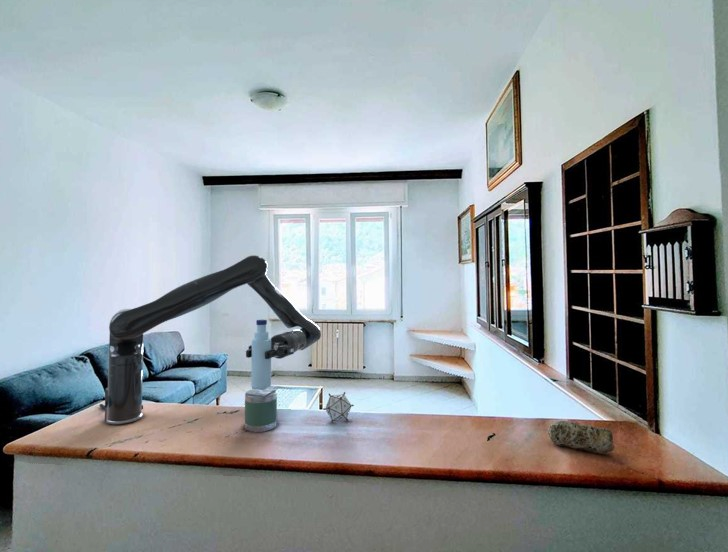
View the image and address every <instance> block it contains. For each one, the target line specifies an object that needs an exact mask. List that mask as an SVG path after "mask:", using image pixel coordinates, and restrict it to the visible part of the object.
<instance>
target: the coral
mask: <svg viewBox="0 0 728 552" xmlns="http://www.w3.org/2000/svg"><path fill="white" fill-rule="evenodd" d="M547 433H548V436H549V439H550V441H551V443H552V444H553V445H555V446H560V447H561V446H562V447H568V448H573V449H575V450H581V451H586V452H591V453H594V454H599V455H608V454H609V453H611V452H613V451H614V450H615V445H614V441H613V440H614V435H613V431H612V430H610V429H609V428H606V427H600V426H595V425H590V424H582V423H577V422H572V421H566V420H562V419H561V420H557V421H554V422H552V423H551V424H550V425H549V427H548V429H547Z"/></svg>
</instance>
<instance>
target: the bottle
mask: <svg viewBox="0 0 728 552" xmlns="http://www.w3.org/2000/svg"><path fill="white" fill-rule="evenodd" d="M267 324H268V320H267V319H256V324H255V325H256V331H255V332H254V338H252V339H251V345H252V357H251V373H250V374H251V377H250V379H251V383H250V384H251V385H250V386H251V390H252V389H259V390H264V389H266V388H271V385H272V358H270V359H265V352H266V351H268V350H271V338H270V337H269V331H267Z"/></svg>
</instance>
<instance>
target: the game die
mask: <svg viewBox="0 0 728 552" xmlns="http://www.w3.org/2000/svg"><path fill="white" fill-rule="evenodd" d="M328 396H329V397H328V400H327V403H326V406H325V407H324V408H322V410H323V411H326V412H327V415H328V416H329V418H330V420H331V421H330V423H331V424H333V423H334V421H343V420H344V421H346V422H349V419H348V417H349V414H350V411H351V408H352V407H354V406H355V405H354V404H352V403H351V402H350V401H349V399H348V398H347V397H346V391H344V392H343V393H342V394H333V395H331V393H328ZM348 412H349V413H348Z"/></svg>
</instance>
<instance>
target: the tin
mask: <svg viewBox="0 0 728 552" xmlns="http://www.w3.org/2000/svg"><path fill="white" fill-rule="evenodd" d="M277 392H278V391H277V389H276V388H271V387H268V388H266V389H264V390H259V389H252V388H251V389H249V390H247V391H246V392H245V393H244V429H245V430H246V431H248V432H252V433H262V432H268V431H271V430H273V429H275V428H276V427H277V417H278V415H277V414H278V393H277Z"/></svg>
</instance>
